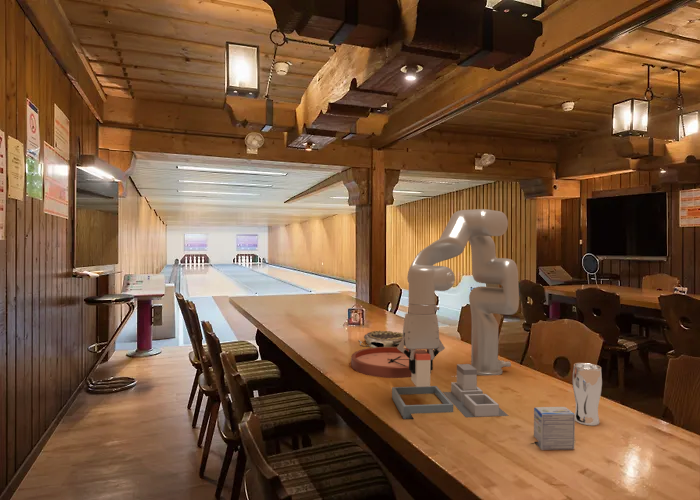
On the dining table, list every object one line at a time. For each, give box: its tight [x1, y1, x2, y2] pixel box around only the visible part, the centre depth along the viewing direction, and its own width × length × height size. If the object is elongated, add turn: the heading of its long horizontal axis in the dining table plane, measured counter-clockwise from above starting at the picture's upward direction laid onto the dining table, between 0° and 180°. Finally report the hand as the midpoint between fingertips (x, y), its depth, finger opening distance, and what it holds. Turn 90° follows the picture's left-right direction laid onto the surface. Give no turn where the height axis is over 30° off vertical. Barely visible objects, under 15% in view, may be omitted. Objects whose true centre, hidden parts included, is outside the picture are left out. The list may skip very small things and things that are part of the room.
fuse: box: [456, 363, 478, 391], centre depth 135 cm, size 4×6×9 cm, turn 6°
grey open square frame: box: [391, 385, 454, 420], centre depth 130 cm, size 14×16×4 cm
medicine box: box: [533, 406, 576, 451], centre depth 106 cm, size 8×4×9 cm, turn 92°
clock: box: [350, 346, 411, 379], centre depth 174 cm, size 31×4×31 cm
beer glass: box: [572, 362, 603, 427], centre depth 120 cm, size 7×7×15 cm
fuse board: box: [442, 381, 509, 418], centre depth 129 cm, size 12×20×4 cm, turn 6°
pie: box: [358, 330, 403, 348], centre depth 213 cm, size 28×27×5 cm
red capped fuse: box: [410, 349, 431, 387], centre depth 130 cm, size 4×6×9 cm, turn 6°
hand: (420, 371), depth 130 cm, fingers closed on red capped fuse, 4 cm apart
